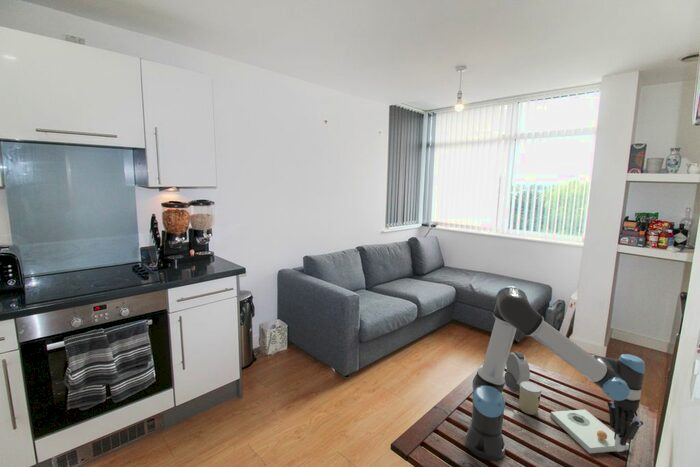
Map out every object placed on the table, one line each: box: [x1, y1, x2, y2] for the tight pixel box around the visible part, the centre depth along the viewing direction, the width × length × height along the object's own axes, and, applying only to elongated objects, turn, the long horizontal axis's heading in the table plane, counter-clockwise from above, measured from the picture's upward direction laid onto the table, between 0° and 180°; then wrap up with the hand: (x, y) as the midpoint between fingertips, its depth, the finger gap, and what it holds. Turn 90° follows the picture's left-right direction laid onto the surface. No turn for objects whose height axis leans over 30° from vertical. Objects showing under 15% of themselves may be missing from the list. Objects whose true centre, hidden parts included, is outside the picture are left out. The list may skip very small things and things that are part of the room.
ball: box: [597, 430, 607, 440], centre depth 140 cm, size 4×4×4 cm
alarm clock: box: [503, 350, 531, 392], centre depth 181 cm, size 16×10×18 cm, turn 179°
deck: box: [550, 409, 630, 454], centre depth 147 cm, size 22×18×2 cm
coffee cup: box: [518, 380, 543, 415], centre depth 161 cm, size 9×9×12 cm
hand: (618, 449), depth 132 cm, fingers closed
